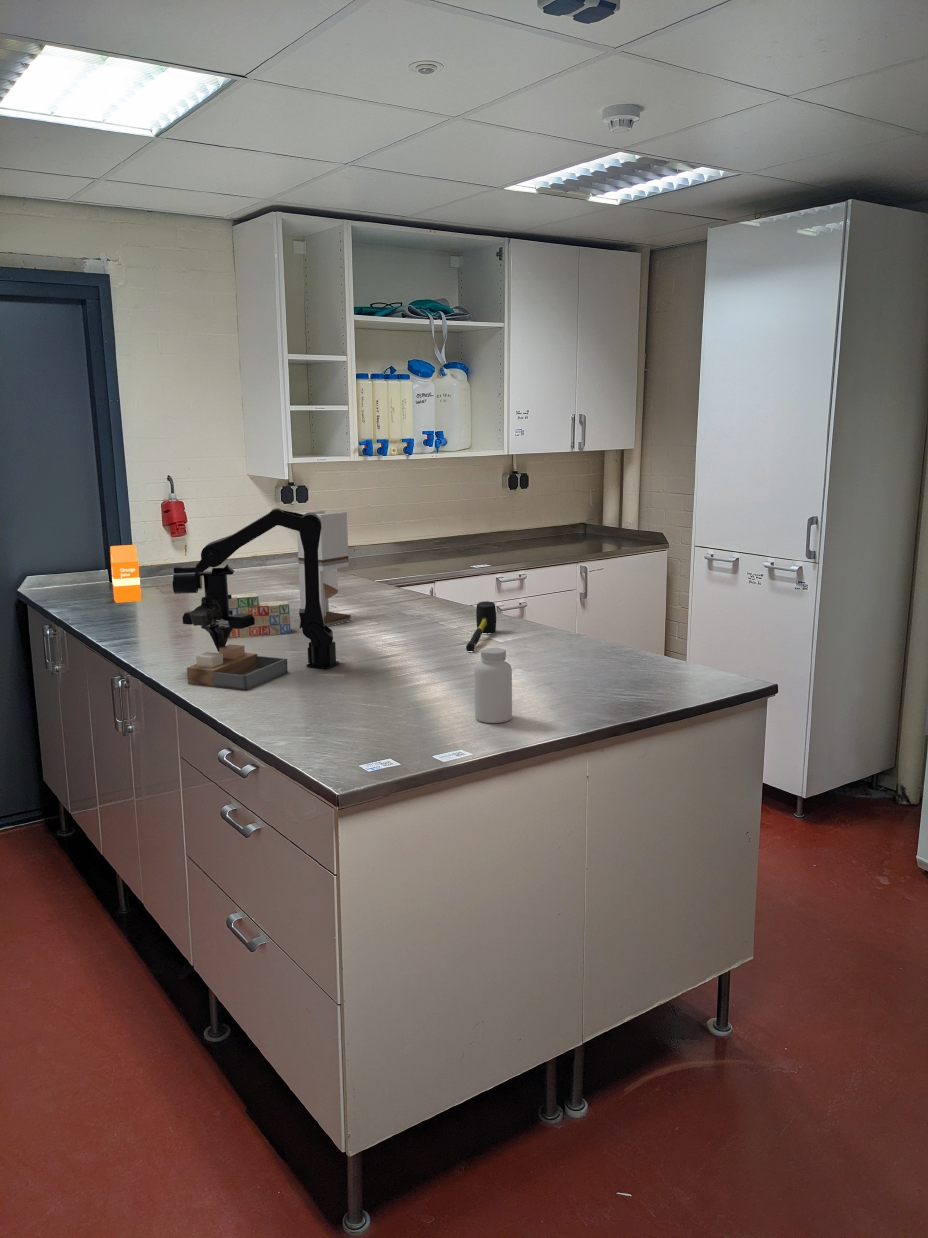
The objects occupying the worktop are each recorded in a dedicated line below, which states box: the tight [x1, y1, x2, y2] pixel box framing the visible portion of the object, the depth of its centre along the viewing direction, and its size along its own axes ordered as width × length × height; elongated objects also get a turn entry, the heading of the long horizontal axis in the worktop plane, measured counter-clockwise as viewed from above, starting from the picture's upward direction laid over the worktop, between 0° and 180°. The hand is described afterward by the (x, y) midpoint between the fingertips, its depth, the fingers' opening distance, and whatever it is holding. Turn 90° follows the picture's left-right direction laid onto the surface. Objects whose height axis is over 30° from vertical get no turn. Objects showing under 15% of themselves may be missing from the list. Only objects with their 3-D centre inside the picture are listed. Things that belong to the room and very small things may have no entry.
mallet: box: [465, 600, 497, 652], centre depth 272 cm, size 29×6×10 cm, turn 169°
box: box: [214, 655, 289, 691], centre depth 234 cm, size 9×18×4 cm, turn 157°
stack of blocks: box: [222, 592, 292, 639], centre depth 284 cm, size 21×6×12 cm, turn 108°
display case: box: [296, 510, 352, 627], centre depth 298 cm, size 11×11×35 cm
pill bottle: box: [473, 647, 513, 724], centre depth 200 cm, size 8×8×15 cm
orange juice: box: [109, 544, 142, 604], centre depth 342 cm, size 8×9×20 cm
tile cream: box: [195, 651, 223, 668], centre depth 233 cm, size 4×4×2 cm
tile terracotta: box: [218, 643, 246, 659], centre depth 241 cm, size 4×4×2 cm
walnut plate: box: [186, 652, 258, 688], centre depth 238 cm, size 8×18×4 cm, turn 157°
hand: (220, 651), depth 243 cm, fingers closed
